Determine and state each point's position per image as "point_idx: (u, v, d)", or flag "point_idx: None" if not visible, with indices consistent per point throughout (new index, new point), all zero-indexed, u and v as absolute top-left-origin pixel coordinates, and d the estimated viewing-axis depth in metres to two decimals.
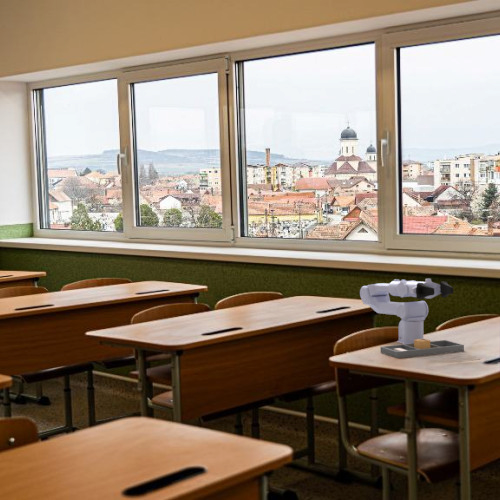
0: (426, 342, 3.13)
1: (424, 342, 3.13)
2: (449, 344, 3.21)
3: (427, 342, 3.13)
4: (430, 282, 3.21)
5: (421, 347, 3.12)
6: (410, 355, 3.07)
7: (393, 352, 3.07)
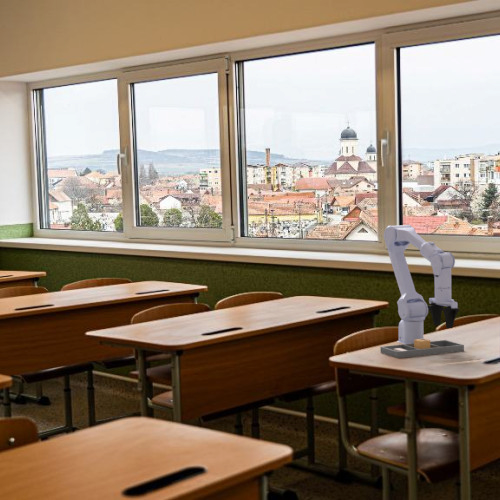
0: (426, 342, 3.13)
1: (424, 342, 3.13)
2: (449, 344, 3.21)
3: (427, 342, 3.13)
4: None
5: (421, 347, 3.12)
6: (410, 355, 3.07)
7: (393, 352, 3.07)
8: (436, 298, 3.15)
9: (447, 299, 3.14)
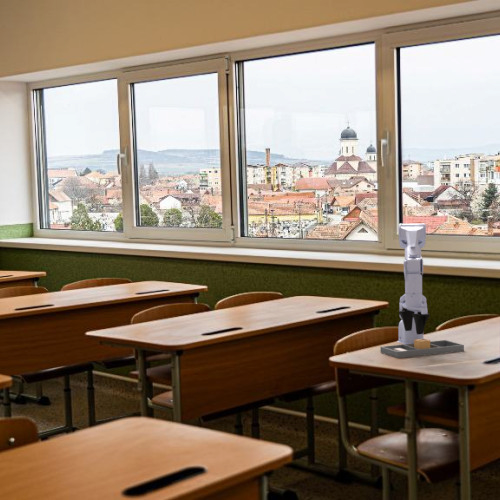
0: (426, 342, 3.13)
1: (424, 342, 3.13)
2: (449, 344, 3.21)
3: (427, 342, 3.13)
4: None
5: (421, 347, 3.12)
6: (410, 355, 3.07)
7: (393, 352, 3.07)
8: (406, 304, 3.11)
9: (418, 305, 3.10)
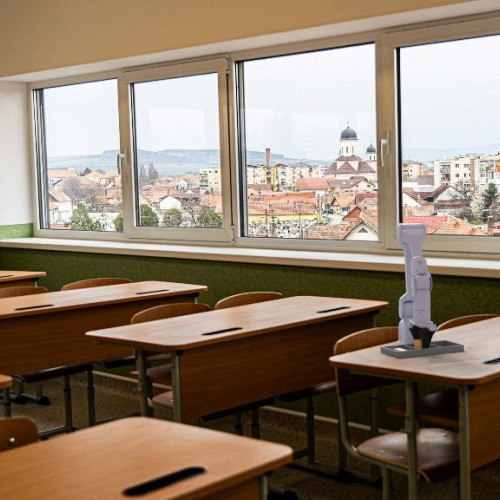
0: None
1: None
2: (449, 344, 3.21)
3: None
4: None
5: (421, 347, 3.12)
6: (410, 355, 3.07)
7: (393, 352, 3.07)
8: (415, 320, 3.13)
9: (426, 321, 3.11)
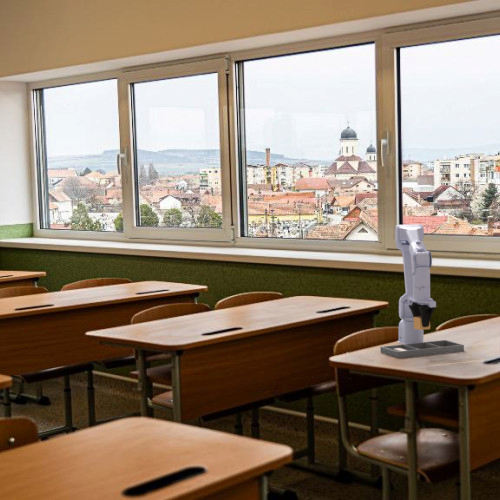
0: None
1: None
2: (449, 344, 3.21)
3: None
4: None
5: (421, 324, 3.12)
6: (410, 355, 3.07)
7: (393, 352, 3.07)
8: (415, 297, 3.12)
9: (426, 298, 3.11)
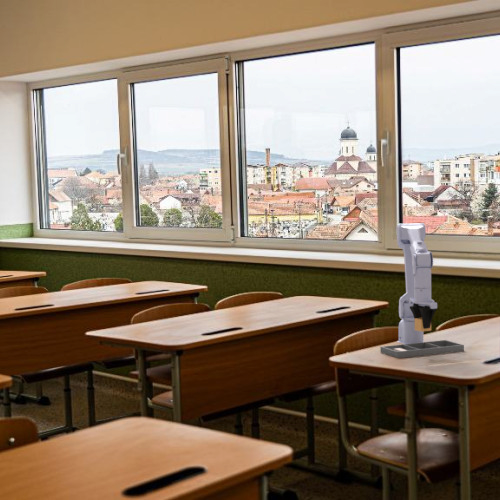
0: None
1: None
2: (449, 344, 3.21)
3: None
4: None
5: (422, 325, 3.08)
6: (410, 355, 3.07)
7: (393, 352, 3.07)
8: (416, 298, 3.09)
9: (427, 299, 3.07)
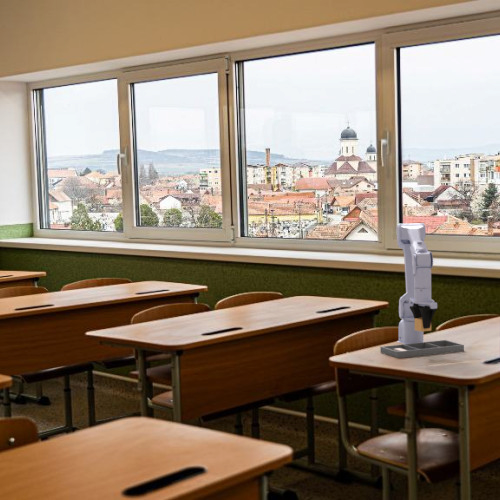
0: None
1: None
2: (449, 344, 3.21)
3: None
4: None
5: (422, 325, 3.08)
6: (410, 355, 3.07)
7: (393, 352, 3.07)
8: (416, 298, 3.09)
9: (427, 299, 3.07)
